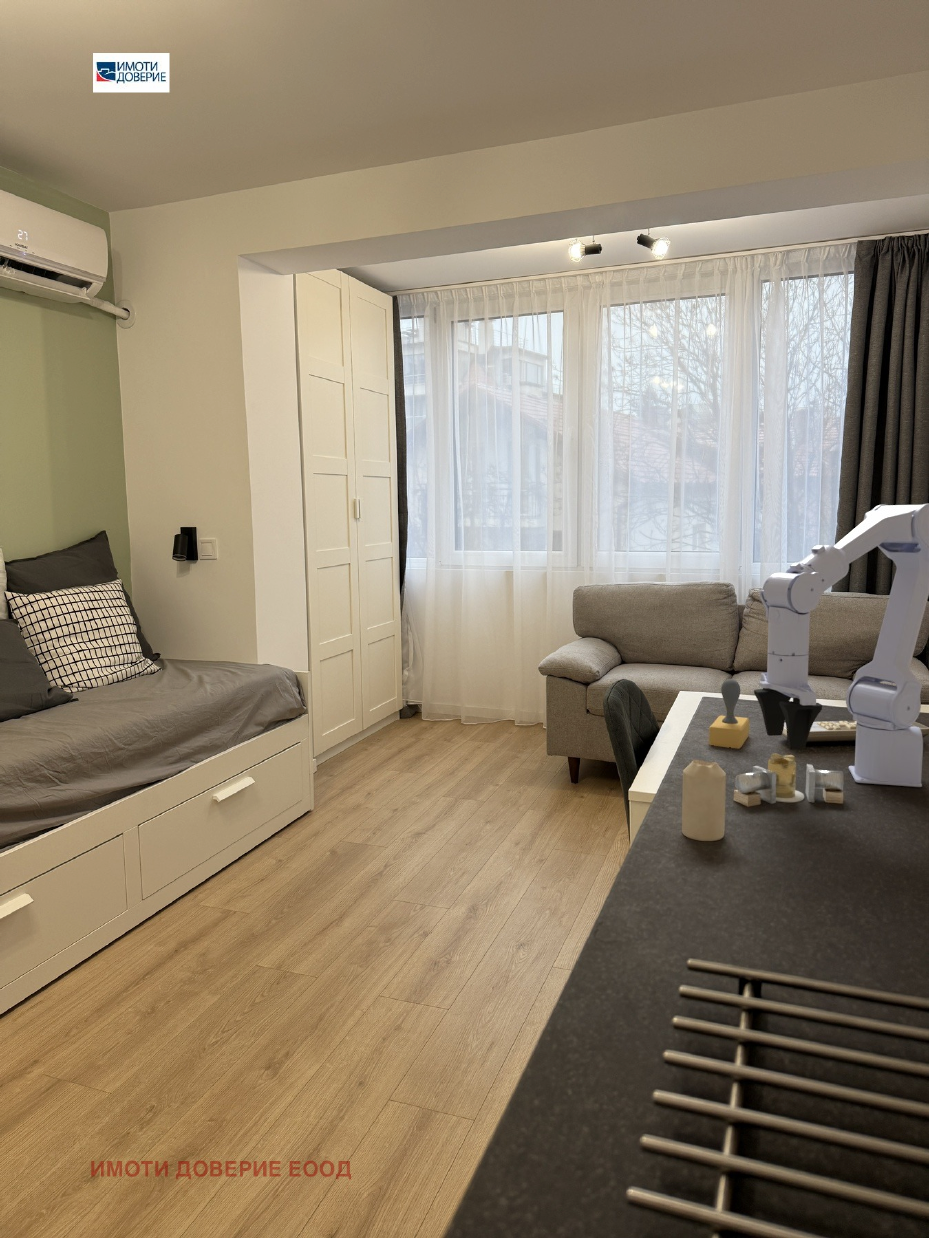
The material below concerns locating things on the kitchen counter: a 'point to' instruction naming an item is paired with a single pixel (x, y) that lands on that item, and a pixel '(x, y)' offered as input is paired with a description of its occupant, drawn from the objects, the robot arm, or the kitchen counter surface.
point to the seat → (796, 798)
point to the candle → (703, 801)
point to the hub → (783, 774)
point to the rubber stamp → (729, 720)
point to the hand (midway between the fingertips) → (785, 741)
